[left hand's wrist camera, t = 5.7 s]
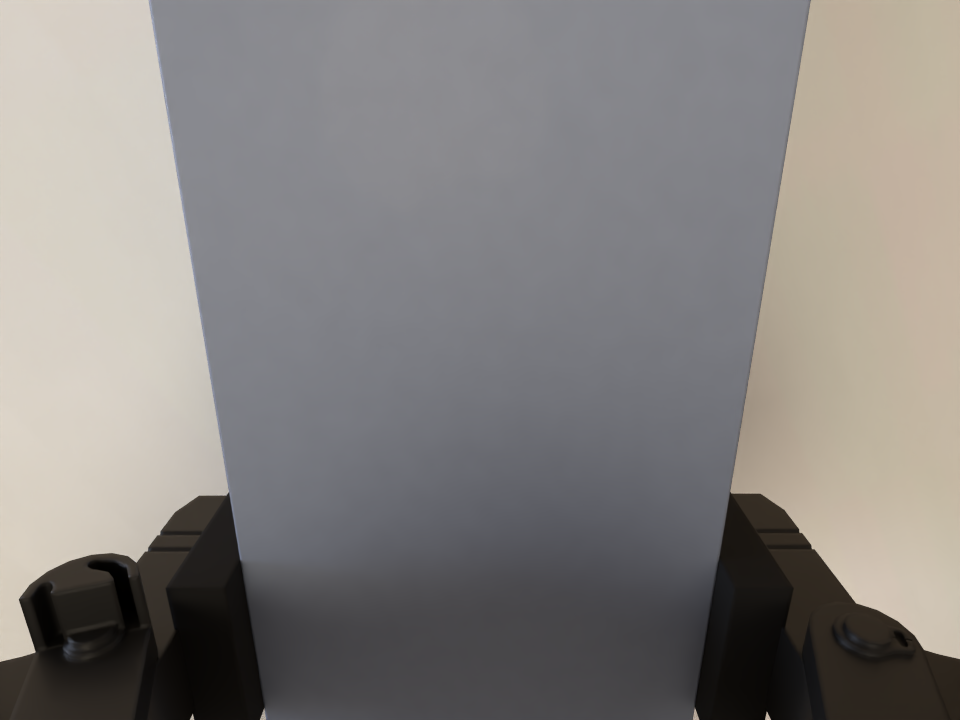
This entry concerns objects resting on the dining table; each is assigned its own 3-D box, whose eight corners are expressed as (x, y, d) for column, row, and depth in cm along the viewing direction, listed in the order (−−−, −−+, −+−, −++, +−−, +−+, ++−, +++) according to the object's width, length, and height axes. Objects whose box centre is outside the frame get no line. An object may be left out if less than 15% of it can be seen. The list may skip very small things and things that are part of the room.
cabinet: (328, -229, 14) (-22, -1030, 4) (630, -229, 14) (982, -1031, 4) (376, 480, 20) (281, 817, 10) (582, 480, 20) (678, 817, 10)
